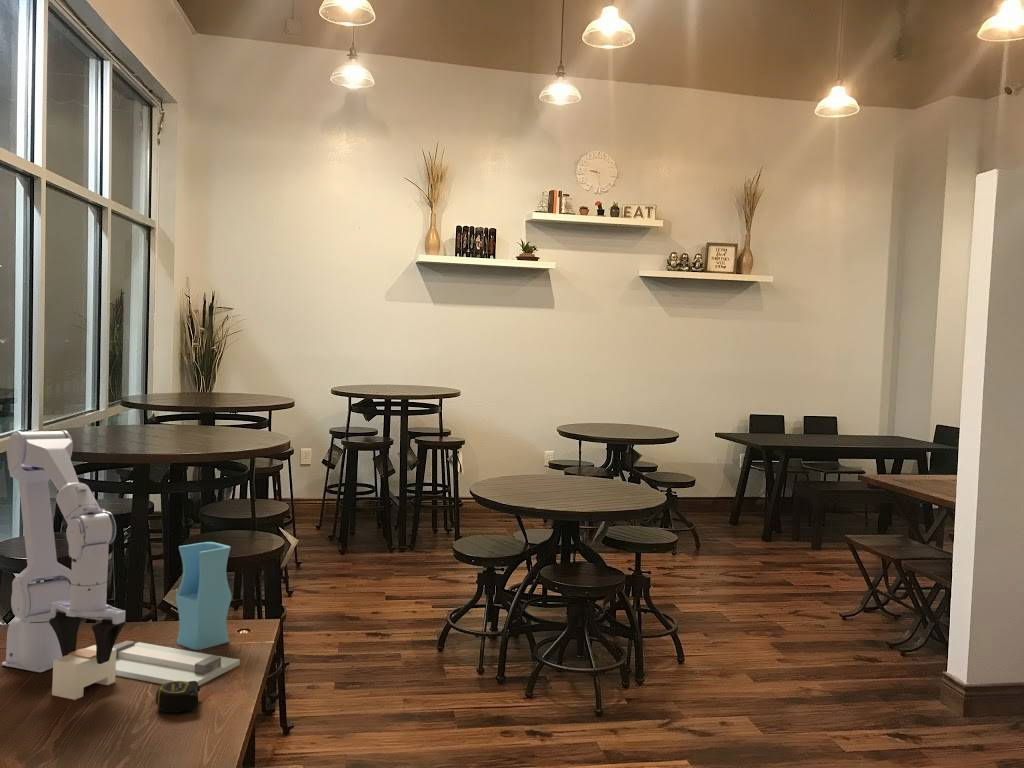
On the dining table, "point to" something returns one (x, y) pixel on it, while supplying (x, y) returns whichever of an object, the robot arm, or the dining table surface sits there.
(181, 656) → the rail board
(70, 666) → the block
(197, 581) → the vase
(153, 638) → the dining table surface
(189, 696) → the tape measure
